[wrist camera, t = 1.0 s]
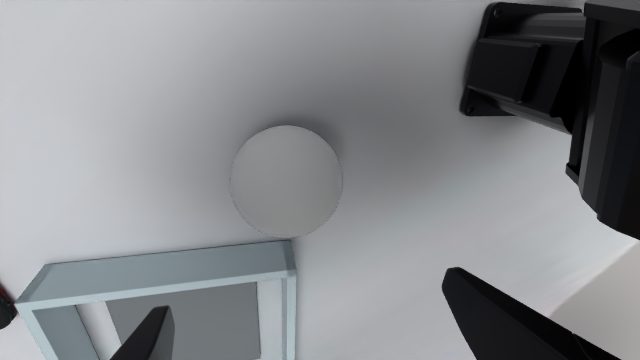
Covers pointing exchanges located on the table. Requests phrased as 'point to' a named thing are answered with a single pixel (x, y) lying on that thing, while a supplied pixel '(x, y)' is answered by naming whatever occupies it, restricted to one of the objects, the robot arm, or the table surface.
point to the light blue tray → (147, 289)
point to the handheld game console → (6, 311)
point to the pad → (200, 321)
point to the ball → (286, 181)
